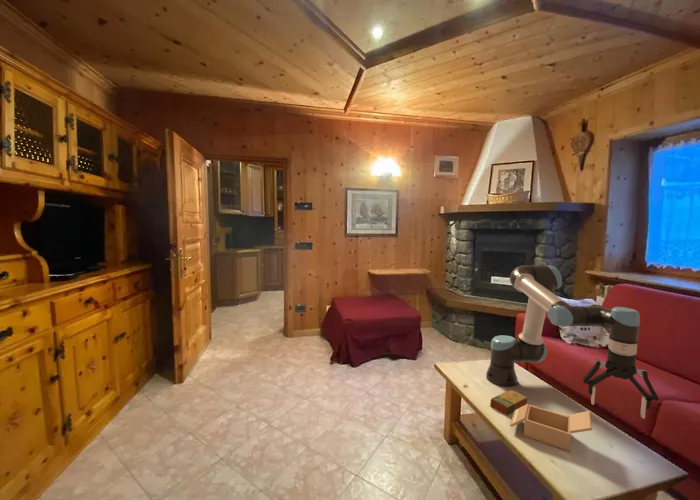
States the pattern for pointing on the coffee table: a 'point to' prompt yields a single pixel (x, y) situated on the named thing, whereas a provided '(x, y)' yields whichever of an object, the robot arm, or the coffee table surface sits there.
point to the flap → (580, 422)
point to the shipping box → (544, 426)
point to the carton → (508, 402)
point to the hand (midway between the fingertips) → (616, 409)
